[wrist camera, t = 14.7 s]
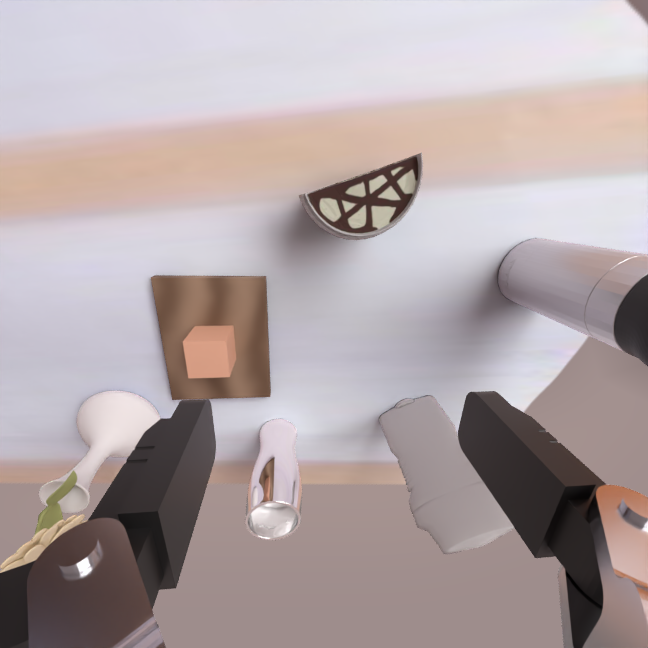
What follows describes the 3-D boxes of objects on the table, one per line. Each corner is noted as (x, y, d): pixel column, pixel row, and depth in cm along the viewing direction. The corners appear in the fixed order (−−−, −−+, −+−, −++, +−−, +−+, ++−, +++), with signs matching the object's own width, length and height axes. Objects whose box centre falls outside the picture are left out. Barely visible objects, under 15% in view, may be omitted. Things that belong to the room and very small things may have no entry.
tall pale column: (380, 429, 52) (436, 575, 32) (372, 411, 51) (426, 552, 30) (439, 405, 52) (535, 539, 31) (433, 386, 50) (530, 514, 30)
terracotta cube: (233, 325, 42) (226, 340, 37) (236, 358, 44) (229, 377, 39) (194, 326, 41) (182, 341, 37) (199, 359, 43) (188, 378, 38)
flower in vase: (139, 457, 50) (5, 681, 27) (69, 420, 46) (-156, 642, 23) (188, 405, 47) (87, 603, 24) (118, 362, 43) (-80, 545, 20)
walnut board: (266, 276, 41) (265, 278, 40) (270, 392, 48) (270, 396, 46) (154, 275, 40) (150, 277, 38) (175, 394, 46) (172, 399, 45)
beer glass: (272, 409, 49) (264, 491, 35) (308, 428, 51) (314, 514, 37) (248, 438, 50) (231, 529, 36) (283, 456, 52) (280, 548, 38)
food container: (313, 245, 40) (319, 259, 31) (297, 196, 38) (299, 195, 29) (404, 214, 40) (438, 218, 31) (393, 163, 37) (427, 150, 28)
